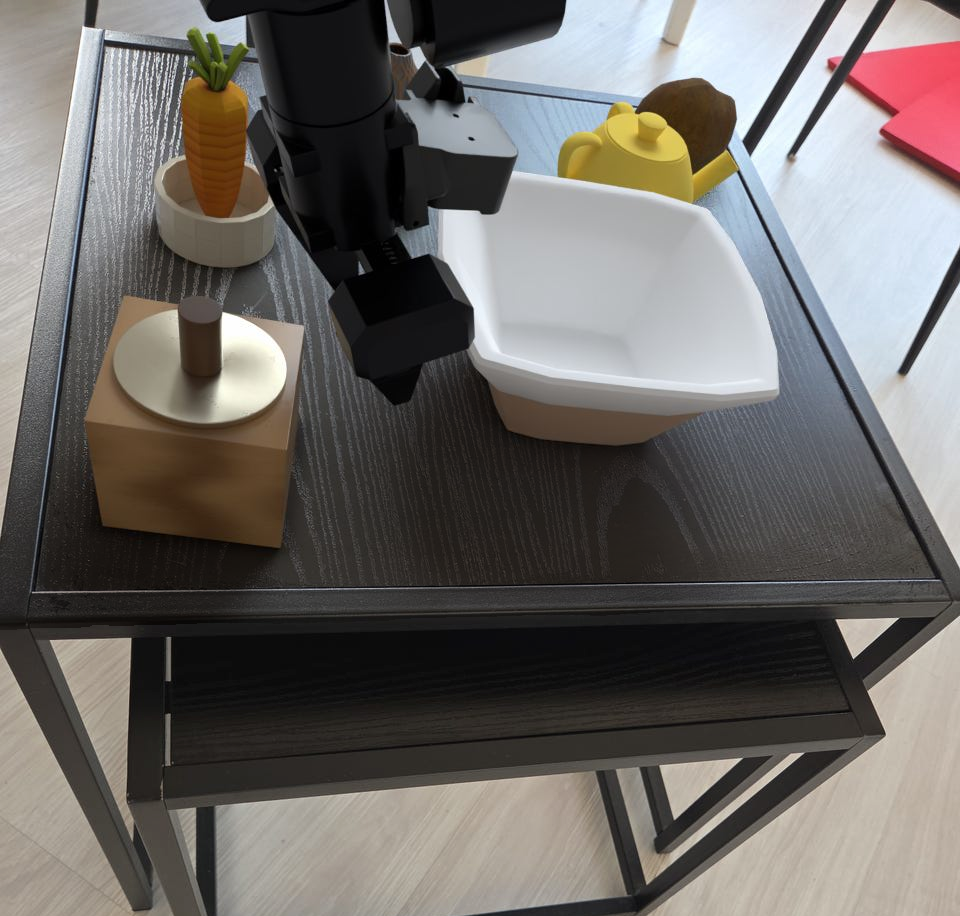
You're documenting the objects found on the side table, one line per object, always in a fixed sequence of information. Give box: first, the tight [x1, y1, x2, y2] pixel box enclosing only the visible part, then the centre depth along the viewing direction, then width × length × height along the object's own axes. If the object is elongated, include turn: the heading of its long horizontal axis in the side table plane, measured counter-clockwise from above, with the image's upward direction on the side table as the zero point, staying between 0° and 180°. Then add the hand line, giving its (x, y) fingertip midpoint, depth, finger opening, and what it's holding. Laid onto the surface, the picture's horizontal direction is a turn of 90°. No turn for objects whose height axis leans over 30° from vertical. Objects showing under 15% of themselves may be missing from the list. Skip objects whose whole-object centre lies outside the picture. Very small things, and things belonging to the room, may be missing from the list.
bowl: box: [437, 170, 780, 447], centre depth 71 cm, size 24×25×11 cm
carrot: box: [180, 27, 250, 218], centre depth 71 cm, size 5×5×15 cm
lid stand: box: [83, 294, 306, 549], centre depth 59 cm, size 11×11×9 cm
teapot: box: [556, 101, 739, 204], centre depth 85 cm, size 14×14×11 cm
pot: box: [153, 154, 278, 269], centre depth 75 cm, size 9×9×4 cm
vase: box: [389, 41, 419, 100], centre depth 86 cm, size 7×7×9 cm
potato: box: [634, 77, 738, 175], centre depth 95 cm, size 8×12×9 cm
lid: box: [113, 295, 287, 429], centre depth 54 cm, size 10×10×4 cm
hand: (374, 347), depth 56 cm, fingers open, 9 cm apart
